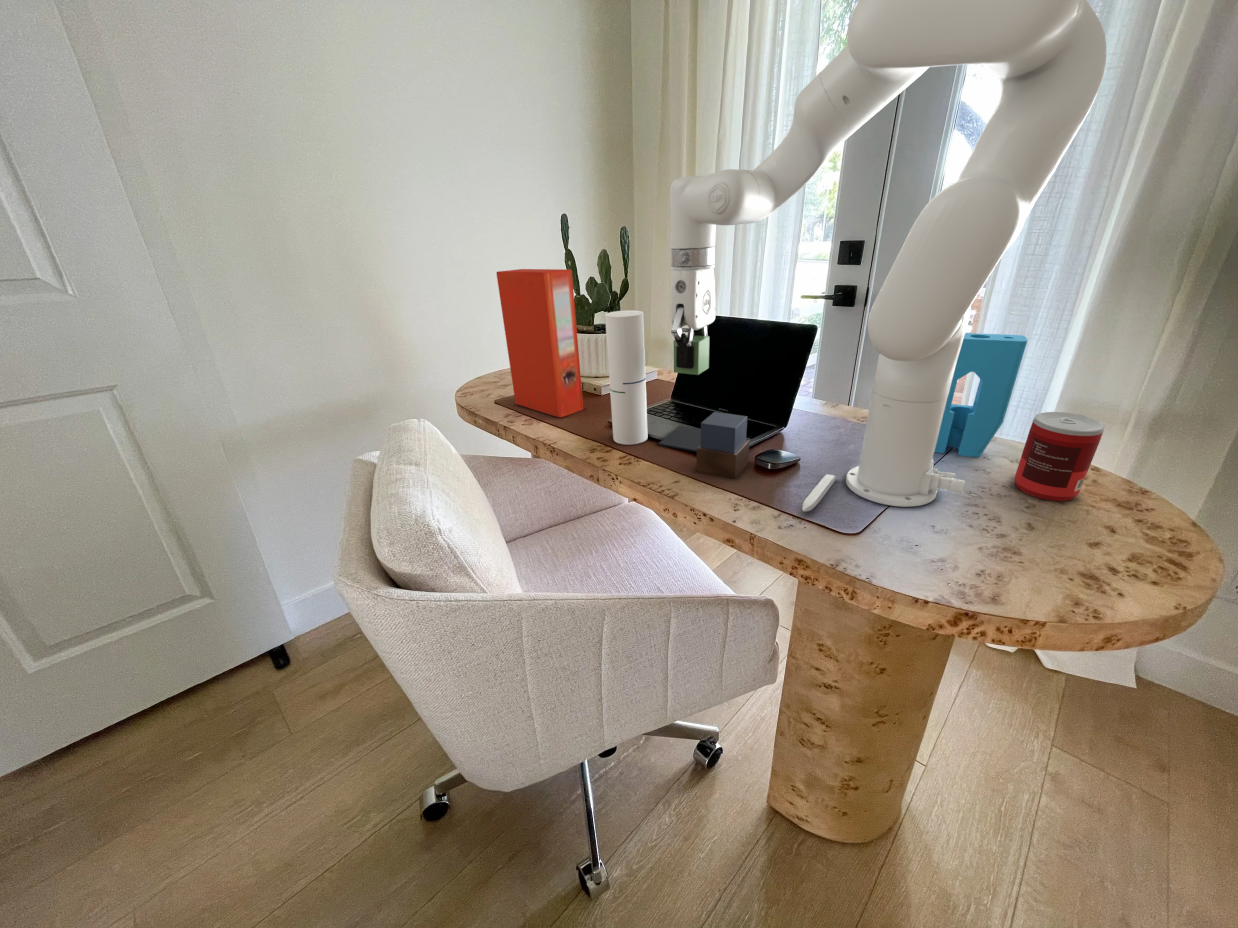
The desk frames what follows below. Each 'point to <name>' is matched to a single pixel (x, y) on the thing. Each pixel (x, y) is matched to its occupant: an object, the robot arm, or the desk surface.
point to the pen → (818, 492)
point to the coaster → (683, 439)
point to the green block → (696, 356)
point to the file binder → (542, 339)
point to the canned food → (1057, 455)
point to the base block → (723, 461)
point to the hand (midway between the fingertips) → (691, 362)
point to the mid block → (723, 432)
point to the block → (981, 391)
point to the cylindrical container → (627, 375)
